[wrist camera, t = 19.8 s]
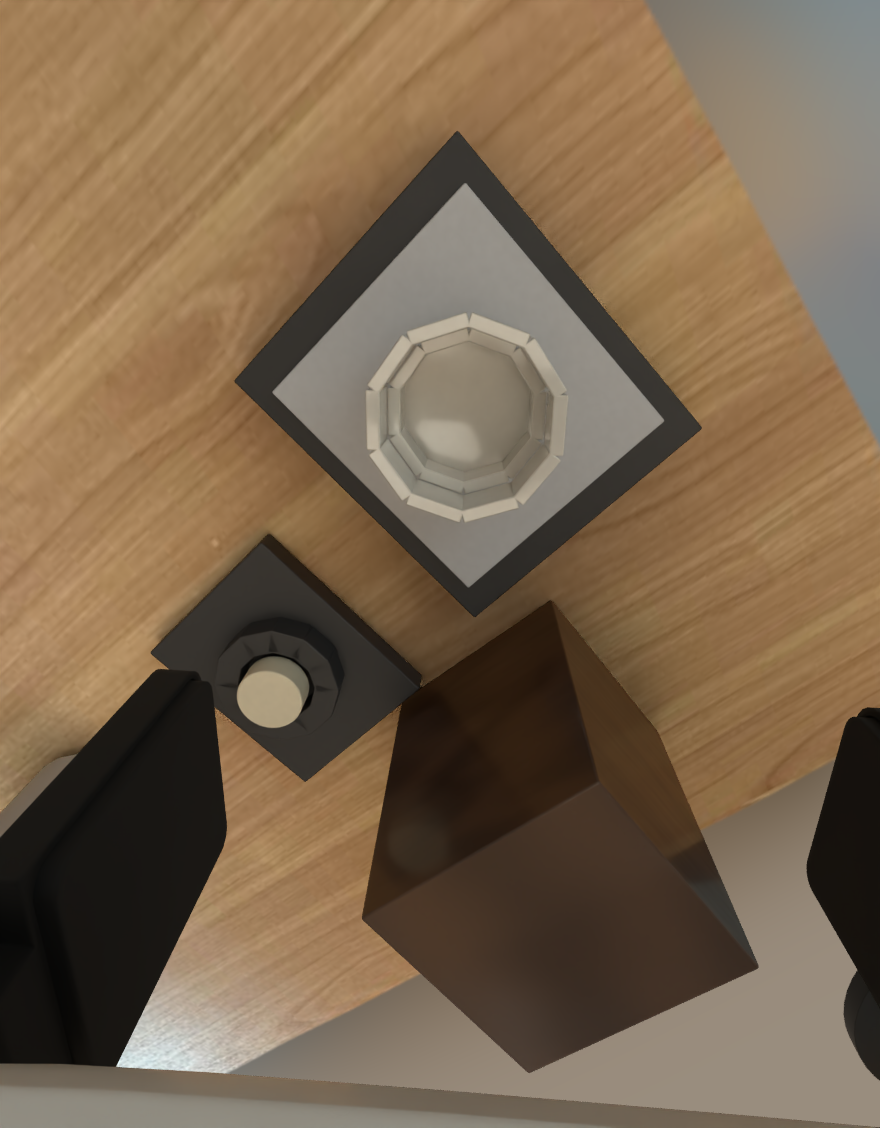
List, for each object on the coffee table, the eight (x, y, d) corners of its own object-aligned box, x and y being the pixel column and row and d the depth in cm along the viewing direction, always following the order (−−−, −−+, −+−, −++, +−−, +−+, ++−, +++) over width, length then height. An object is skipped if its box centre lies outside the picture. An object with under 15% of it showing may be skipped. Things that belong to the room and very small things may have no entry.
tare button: (322, 685, 33) (315, 702, 32) (281, 721, 34) (272, 739, 33) (274, 643, 33) (265, 658, 31) (233, 681, 34) (222, 698, 32)
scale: (684, 418, 30) (707, 430, 27) (474, 595, 34) (474, 623, 31) (458, 146, 27) (456, 125, 24) (253, 375, 31) (228, 382, 28)
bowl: (559, 313, 26) (576, 314, 22) (545, 494, 29) (557, 526, 24) (381, 309, 26) (363, 309, 22) (383, 489, 29) (367, 520, 25)
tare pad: (422, 675, 36) (417, 706, 33) (311, 766, 38) (297, 802, 36) (269, 532, 33) (250, 553, 31) (160, 640, 36) (134, 668, 33)
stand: (551, 599, 34) (599, 781, 21) (658, 732, 36) (760, 968, 23) (401, 700, 36) (360, 919, 23) (510, 818, 39) (528, 1074, 26)
